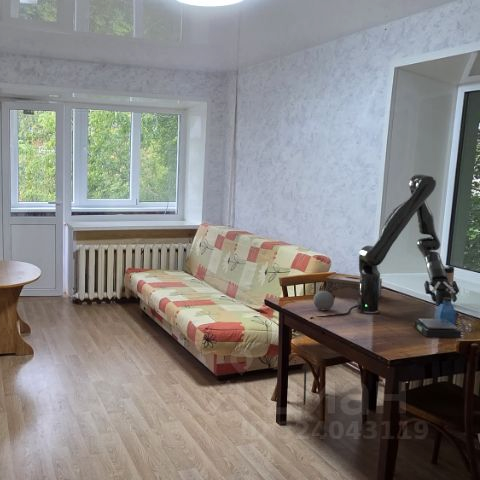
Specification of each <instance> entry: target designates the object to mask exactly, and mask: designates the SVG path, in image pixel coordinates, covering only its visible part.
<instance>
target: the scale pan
mask: <svg viewBox="0 0 480 480" xmlns="http://www.w3.org/2000/svg"><path fill="white" fill-rule="evenodd" d="M417 320H418V321H420V322H421V323H422V324H423V325H425V326H426V327H427V328H428V329H459V328H458V327H457V326H456V324H455V325H453V324H452V323H451V322H449V321H448V320H446V319H436V318H417Z"/></svg>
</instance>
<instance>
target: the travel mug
mask: <svg viewBox="0 0 480 480" xmlns="http://www.w3.org/2000/svg"><path fill="white" fill-rule="evenodd" d="M444 268H445V272H446V275H447V279H448V281H449V282H453V281H454V276H455V267H454V266H453V265H452V266H451V265H448V266H445V265H444ZM449 286H450V287H451V285H449ZM447 289H448V288H447ZM452 289H453V288H452ZM435 294H436V298H437V301H436V302H435V305H438V306H439V305H440V304H443V300H444V299H443V298H444V297H448V298H451V300H450V301H451V302H453V301H452V297H451V294H450V293H448V292H446V291H438V290H436V291H435ZM450 305H452V303H451V304H450Z"/></svg>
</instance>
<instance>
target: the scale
mask: <svg viewBox="0 0 480 480" xmlns="http://www.w3.org/2000/svg"><path fill="white" fill-rule="evenodd" d="M414 328H415V329H416V330H417V331H419V333H421V334H422V335H423V336H424V337H426V338H451V339H452V338H455V339H457V338H458V339H460V338H461V335H462V331H461V330H460V329H459V328H458V329H428V328H427V327H426V326H425V325H423V324H422V323H421V322H420V321H418V319H415V320H414Z"/></svg>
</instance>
